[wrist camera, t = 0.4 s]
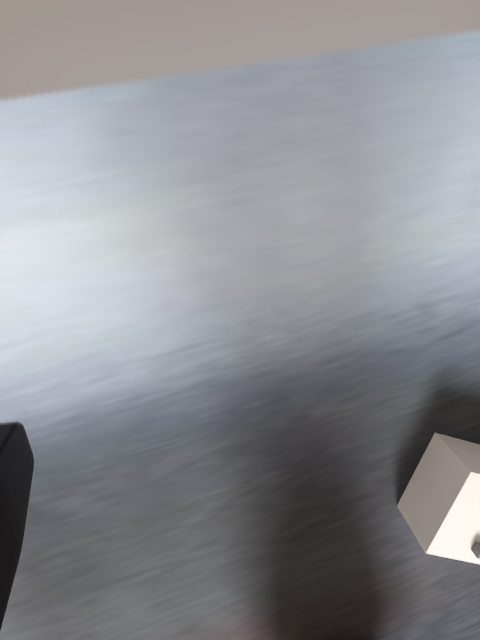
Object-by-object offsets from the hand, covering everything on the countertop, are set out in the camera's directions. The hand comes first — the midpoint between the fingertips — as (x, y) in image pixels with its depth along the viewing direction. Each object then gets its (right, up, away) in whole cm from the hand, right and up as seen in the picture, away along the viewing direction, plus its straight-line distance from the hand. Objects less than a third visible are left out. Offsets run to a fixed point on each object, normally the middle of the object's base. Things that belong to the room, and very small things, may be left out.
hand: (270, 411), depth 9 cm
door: (+14, -9, +20) cm, 27 cm away
